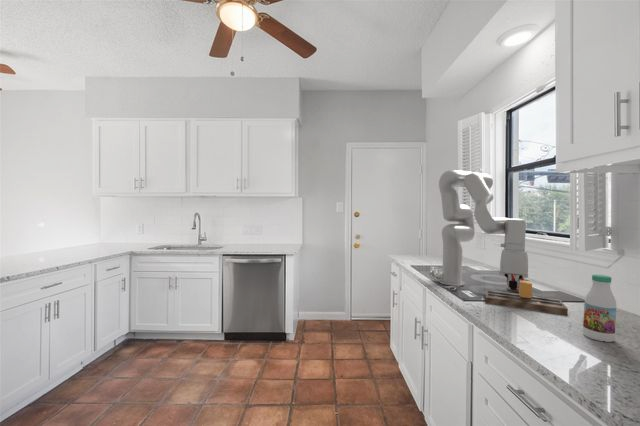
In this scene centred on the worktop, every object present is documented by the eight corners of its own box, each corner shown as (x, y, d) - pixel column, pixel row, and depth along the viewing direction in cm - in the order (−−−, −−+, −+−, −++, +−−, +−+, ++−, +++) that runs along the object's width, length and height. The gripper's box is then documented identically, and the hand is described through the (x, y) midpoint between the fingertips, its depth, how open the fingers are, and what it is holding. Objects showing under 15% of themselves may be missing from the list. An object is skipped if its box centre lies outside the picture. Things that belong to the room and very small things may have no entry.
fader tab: (519, 298, 132) (520, 282, 132) (518, 295, 136) (519, 280, 136) (531, 300, 130) (532, 284, 130) (529, 297, 134) (530, 281, 134)
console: (485, 303, 134) (485, 295, 134) (485, 294, 146) (485, 288, 146) (567, 315, 121) (567, 307, 121) (559, 305, 133) (560, 297, 133)
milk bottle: (582, 330, 106) (585, 272, 105) (613, 337, 101) (617, 275, 100) (582, 337, 100) (586, 275, 99) (616, 345, 95) (619, 279, 94)
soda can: (508, 291, 154) (509, 267, 153) (504, 287, 160) (505, 264, 160) (525, 292, 152) (526, 268, 151) (520, 289, 158) (521, 265, 158)
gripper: (494, 246, 135) (493, 289, 135) (536, 249, 128) (534, 294, 128) (494, 245, 141) (492, 285, 142) (534, 247, 134) (532, 290, 135)
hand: (512, 289), depth 135 cm, fingers closed
